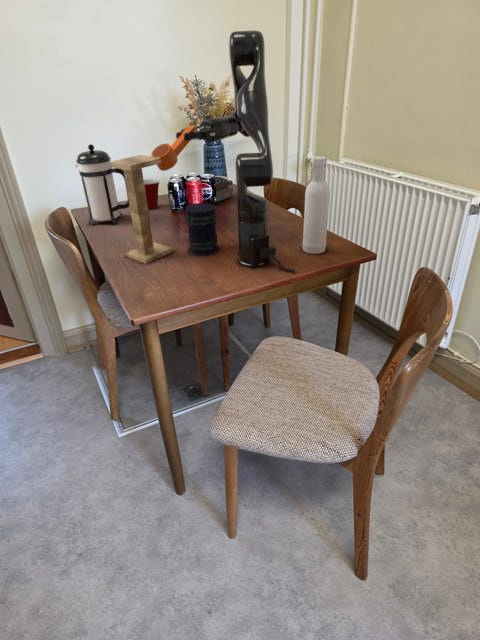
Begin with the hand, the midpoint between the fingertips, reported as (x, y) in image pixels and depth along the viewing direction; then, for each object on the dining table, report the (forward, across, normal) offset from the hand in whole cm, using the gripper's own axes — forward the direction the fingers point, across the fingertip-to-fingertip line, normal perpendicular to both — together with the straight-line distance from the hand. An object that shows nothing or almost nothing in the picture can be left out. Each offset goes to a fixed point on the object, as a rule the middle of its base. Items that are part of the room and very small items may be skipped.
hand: (181, 136), depth 139 cm
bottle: (-15, +44, +35) cm, 58 cm away
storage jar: (+7, +13, +35) cm, 38 cm away
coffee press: (+6, -42, +35) cm, 55 cm away
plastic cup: (-16, -41, +35) cm, 56 cm away
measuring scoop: (+2, 0, +4) cm, 4 cm away
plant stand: (+20, 0, +35) cm, 40 cm away
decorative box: (-39, -22, +35) cm, 57 cm away
